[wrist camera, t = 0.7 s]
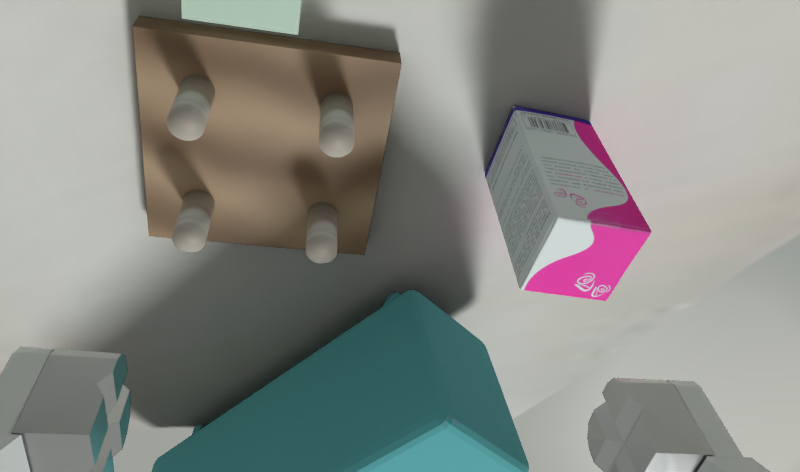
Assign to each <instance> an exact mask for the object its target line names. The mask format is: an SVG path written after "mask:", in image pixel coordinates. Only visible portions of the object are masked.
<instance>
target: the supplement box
mask: <svg viewBox="0 0 800 472" xmlns="http://www.w3.org/2000/svg"><path fill="white" fill-rule="evenodd" d="M485 177H486V180H487V183H488V187H489V190H490V193H491V196H492V199H493V202H494V206H495V209H496V212H497V215H498V219H499V222H500V225H501V229H502V232H503V235H504V239H505V242H506V245H507V248H508V252H509V255H510V258H511V262H512V265H513V268H514V272H515V275H516V278H517V281H518V285H519V288H520V289H521V290H527V291H535V292H542V293H550V294H558V295H565V296H573V297H581V298H588V299H595V300H603V301H606V300H607V299H608V297H609V296H610V294H611V293H612V291H613V290H614V288H615V287H616V285H617V283H618V282H619V280H620V278H621V277H622V275H623V274H624V272H625V271H626V269H627V268H628V266H629V265H630V263H631V262H632V260H633V259H634V257H635V256H636V254H637V253H638V251H639V250H640V249H641V247H642V246H643V244H644V243H645V241H646V240H647V238H648V237H649V235H650V234H651V230H650V228H649V226H648V224H647V223H646V221H645V219H644V217H643V216H642V214H641V212H640V211H639V209H638V207H637V205H636V203H635V202H634V200H633V198H632V196H631V195H630V193H629V191H628V189H627V187H626V186H625V184H624V182H623V180H622V178H621V177H620V175H619V173H618V171H617V170H616V168H615V166H614V164H613V162H612V161H611V159H610V157H609V155H608V154H607V152H606V150H605V148H604V147H603V145H602V143H601V141H600V139H599V138H598V136H597V134H596V132H595V130H594V129H593V127H592V125H591V123H590V122H589V121H587V120H583V119H578V118H573V117H568V116H564V115H558V114H554V113H549V112H543V111H539V110H534V109H529V108H524V107H519V106H513V107H512V110H511V112H510V114H509V116H508V119H507V121H506V124H505V127H504V129H503V131H502V134H501V136H500V139H499V141H498V143H497V146H496V148H495V151H494V153H493V155H492V157H491V160H490V162H489V165H488V167H487V170H486V172H485Z"/></svg>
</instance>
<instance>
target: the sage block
mask: <svg viewBox="0 0 800 472" xmlns="http://www.w3.org/2000/svg"><path fill="white" fill-rule="evenodd" d="M301 5H302V0H181V8H182V19H189V20H196V21H203V22H210V23H217V24H224V25H231V26H238V27H245V28H252V29H259V30H266V31H273V32H280V33H287V34H294V35H298V31H299V23H300V14H301Z"/></svg>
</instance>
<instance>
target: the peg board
mask: <svg viewBox="0 0 800 472" xmlns="http://www.w3.org/2000/svg"><path fill="white" fill-rule="evenodd" d="M133 35H134V48H135V61H136V74H137V87H138V100H139V113H140V126H141V139H142V152H143V165H144V178H145V191H146V204H147V217H148V230H149V236H154V237H166V238H172V241H173V243H174V245H175V246H176V247H177V248H178V249H180V250H182V251H185V252H197V251H200V250H201V249H202V248H203V247H204V246H205V243H206V241H211V242H223V243H234V244H245V245H257V246H268V247H280V248H291V249H302V250H306V255H307V257H308V258H309V259H310V260H311V261H313V262H316V263H328V262H330V261H332V260H333V259H334V258H335V257H336V255H337V253H348V254H359V255H365V250H366V245H367V240H368V235H369V230H370V224H371V219H372V214H373V209H374V204H375V198H376V193H377V188H378V183H379V178H380V173H381V167H382V162H383V157H384V152H385V147H386V141H387V136H388V131H389V126H390V121H391V116H392V110H393V105H394V100H395V95H396V90H397V84H398V79H399V74H400V69H401V58H400V53H397V52H390V51H383V50H376V49H369V48H362V47H355V46H348V45H341V44H334V43H327V42H320V41H312V40H305V39H298V38H291V37H284V36H277V35H270V34H263V33H256V32H249V31H242V30H235V29H228V28H220V27H213V26H206V25H199V24H192V23H185V22H178V21H171V20H164V19H157V18H150V17H143V16H139V17H138V19H137V21H136V22H135V24H134V25H133Z"/></svg>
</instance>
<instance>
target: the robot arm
mask: <svg viewBox="0 0 800 472" xmlns="http://www.w3.org/2000/svg"><path fill="white" fill-rule="evenodd" d="M127 371H128V370H127V363H126V356H125V355H124V354H121V353H108V352H94V351H81V350H68V349H46V348H33V347H20V348H19V349H17V350H16V351H15V352H14V353H13V354H12V355H11V357H10V358H9V360H8V362H7V364H6V366H5V367H4V369H3V371H2V373H1V375H0V472H114V466H113V458H112V457H114V456H115V455H116V454H117V453H118V452H120V451H121V450H122V448H123V445H124V442H125V438H126V435H127V430H128V424H129V418H130V404H131V400H130V390H129V389H128V388H127V387H126V386H125V385H124V384H123V383H124V380H125V377H126V374H127ZM602 393H603V396H604V398H605V400H606V402H605V403H604V404H602V405H600V406H599V407H597V408H596V409H595V410H594V411H593V413H592V416H591V418H590V420H589V423H588V437H587V439H588V444H589V450H590V453H591V456H592V459H593V461H594V463H595V464H596V465H597V466H598V467H599V468H600V469H601V470H602V471H603V472H770V471H769V470H767V469H766V468H765V467H763V466H762V465H760V464H759V463H758V462H756V461H755V460H754V459H753V458H748V457H743V456H742V454H741V452H740V451H739V449H738V447H737V446H736V444H735V443H734V441H733V439H732V437H731V436H730V434H729V433H728V431H727V429H726V428H725V426H724V424H723V423H722V421H721V419H720V418H719V416H718V415H717V413H716V411H715V410H714V408H713V406H712V405H711V403H710V401H709V400H708V398H707V396H706V395H705V393H704V392H703V390H702V388H701V387H700V386H699V385H697V384H696V383H695V382H694V381H673V380H672V381H671V380H667V381H664V380H650V379H648V380H647V379H625V378H613V379H612V380H610V381H609V382H608V383H607V384H606V386H605V389H604V390H603V392H602Z"/></svg>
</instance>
